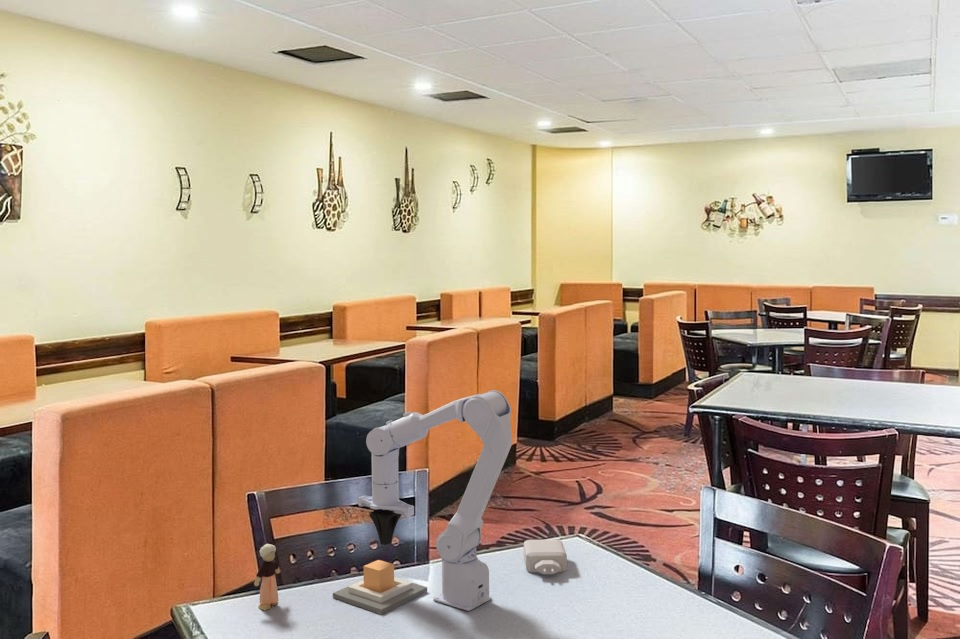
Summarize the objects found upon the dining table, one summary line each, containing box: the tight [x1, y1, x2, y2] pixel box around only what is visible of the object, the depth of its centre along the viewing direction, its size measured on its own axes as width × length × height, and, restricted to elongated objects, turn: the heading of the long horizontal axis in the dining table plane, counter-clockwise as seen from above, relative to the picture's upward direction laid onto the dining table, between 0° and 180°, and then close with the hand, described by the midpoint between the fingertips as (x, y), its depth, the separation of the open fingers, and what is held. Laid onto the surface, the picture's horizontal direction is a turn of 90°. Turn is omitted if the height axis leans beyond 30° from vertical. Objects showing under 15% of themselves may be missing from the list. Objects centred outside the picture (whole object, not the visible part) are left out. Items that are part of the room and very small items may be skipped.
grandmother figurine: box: [253, 543, 281, 611], centre depth 164 cm, size 8×4×13 cm, turn 168°
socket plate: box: [332, 576, 428, 615], centre depth 169 cm, size 14×14×2 cm
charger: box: [523, 539, 568, 575], centre depth 182 cm, size 5×9×15 cm
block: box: [362, 559, 395, 593], centre depth 168 cm, size 4×4×6 cm
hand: (386, 543), depth 173 cm, fingers closed
